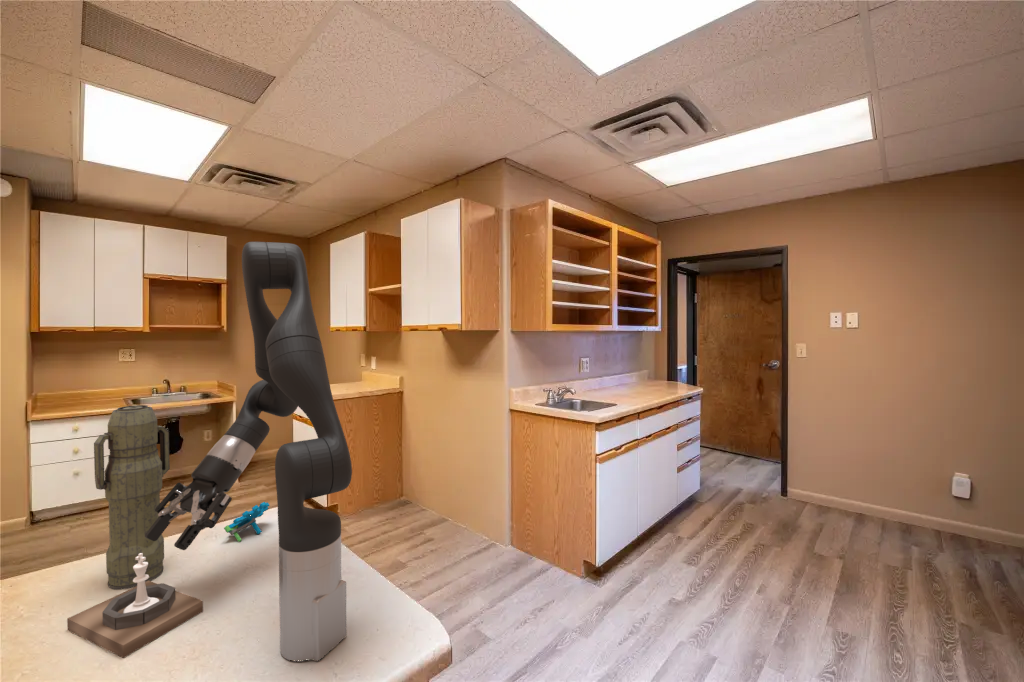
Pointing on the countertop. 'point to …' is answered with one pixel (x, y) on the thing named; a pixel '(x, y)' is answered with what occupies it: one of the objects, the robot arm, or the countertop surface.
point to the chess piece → (140, 587)
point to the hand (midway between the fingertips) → (164, 543)
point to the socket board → (134, 633)
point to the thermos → (132, 491)
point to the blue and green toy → (247, 520)
